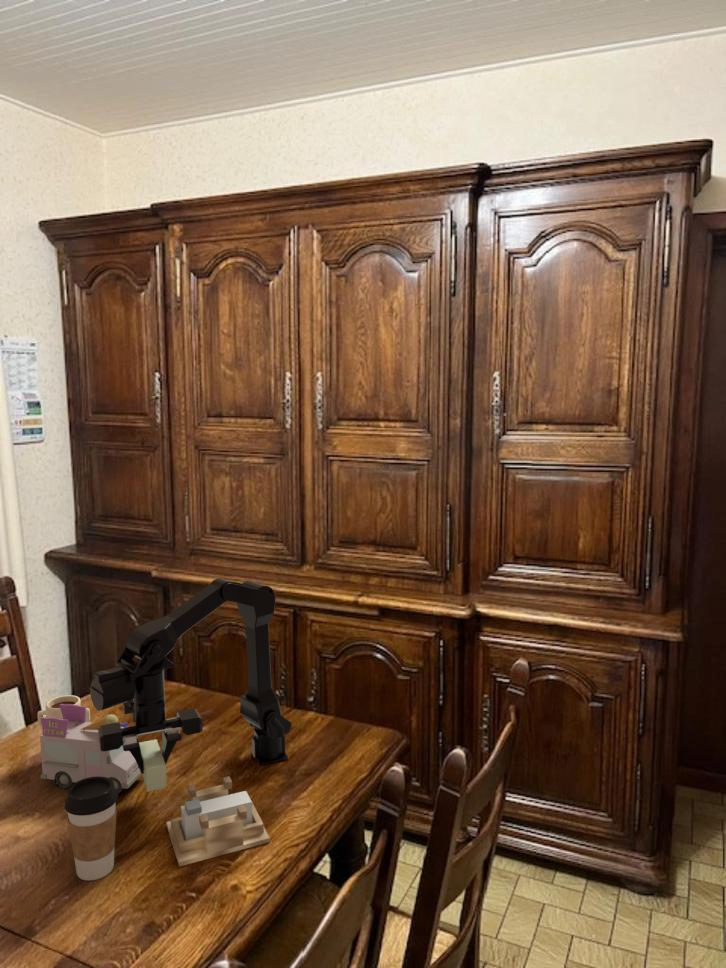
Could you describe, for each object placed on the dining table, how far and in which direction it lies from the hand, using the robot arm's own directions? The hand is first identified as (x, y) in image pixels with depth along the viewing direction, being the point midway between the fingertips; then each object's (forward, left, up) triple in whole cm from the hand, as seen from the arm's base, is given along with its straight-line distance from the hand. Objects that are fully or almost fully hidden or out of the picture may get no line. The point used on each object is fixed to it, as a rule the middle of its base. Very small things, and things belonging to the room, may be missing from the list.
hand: (152, 770), depth 139 cm
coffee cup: (+12, +15, -8) cm, 21 cm away
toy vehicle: (+10, -14, -8) cm, 19 cm away
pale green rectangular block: (0, 0, -1) cm, 1 cm away
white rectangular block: (-9, +14, -6) cm, 18 cm away
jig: (-9, +14, -7) cm, 18 cm away
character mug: (+15, -27, -8) cm, 32 cm away
